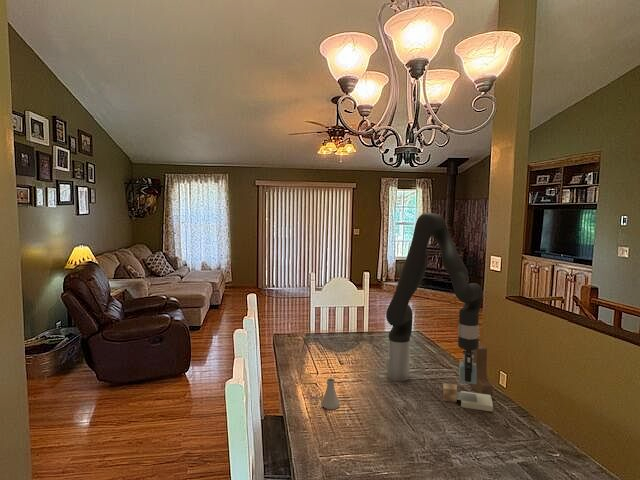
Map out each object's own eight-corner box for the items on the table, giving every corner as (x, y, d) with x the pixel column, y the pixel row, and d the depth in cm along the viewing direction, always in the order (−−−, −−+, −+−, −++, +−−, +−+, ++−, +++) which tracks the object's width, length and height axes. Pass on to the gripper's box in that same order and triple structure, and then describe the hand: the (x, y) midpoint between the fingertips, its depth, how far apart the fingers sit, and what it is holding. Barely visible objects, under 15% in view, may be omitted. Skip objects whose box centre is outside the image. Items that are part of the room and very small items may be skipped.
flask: (342, 403, 153) (342, 377, 152) (336, 411, 146) (337, 385, 146) (324, 400, 155) (324, 375, 155) (318, 408, 149) (318, 382, 148)
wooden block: (492, 396, 160) (493, 351, 159) (481, 396, 159) (483, 352, 158) (480, 386, 169) (481, 344, 167) (470, 387, 168) (471, 345, 167)
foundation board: (456, 406, 151) (456, 401, 151) (456, 395, 160) (456, 390, 160) (492, 411, 147) (493, 406, 147) (490, 399, 156) (490, 394, 156)
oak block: (443, 400, 156) (443, 388, 155) (443, 395, 160) (443, 383, 160) (456, 402, 154) (456, 390, 154) (456, 397, 159) (456, 384, 158)
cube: (459, 382, 152) (459, 366, 151) (459, 376, 158) (459, 361, 157) (476, 384, 150) (476, 368, 150) (475, 378, 156) (475, 363, 155)
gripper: (457, 329, 161) (457, 370, 162) (458, 339, 147) (457, 384, 148) (477, 331, 158) (476, 372, 159) (480, 341, 145) (479, 386, 146)
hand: (467, 377), depth 154 cm, fingers closed on cube, 6 cm apart
